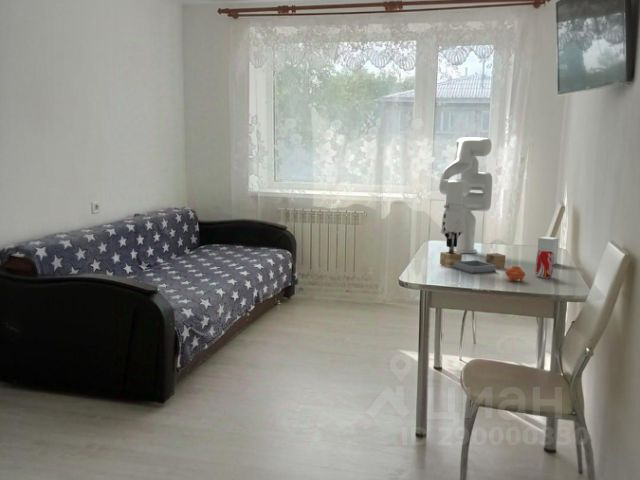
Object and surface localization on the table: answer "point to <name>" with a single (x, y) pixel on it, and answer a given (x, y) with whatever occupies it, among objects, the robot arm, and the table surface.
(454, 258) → the oak block
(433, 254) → the table surface
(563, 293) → the table surface
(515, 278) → the pot
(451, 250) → the cylinder
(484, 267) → the tray
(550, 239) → the supplement box
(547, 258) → the soda can
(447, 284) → the table surface
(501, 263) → the walnut block
